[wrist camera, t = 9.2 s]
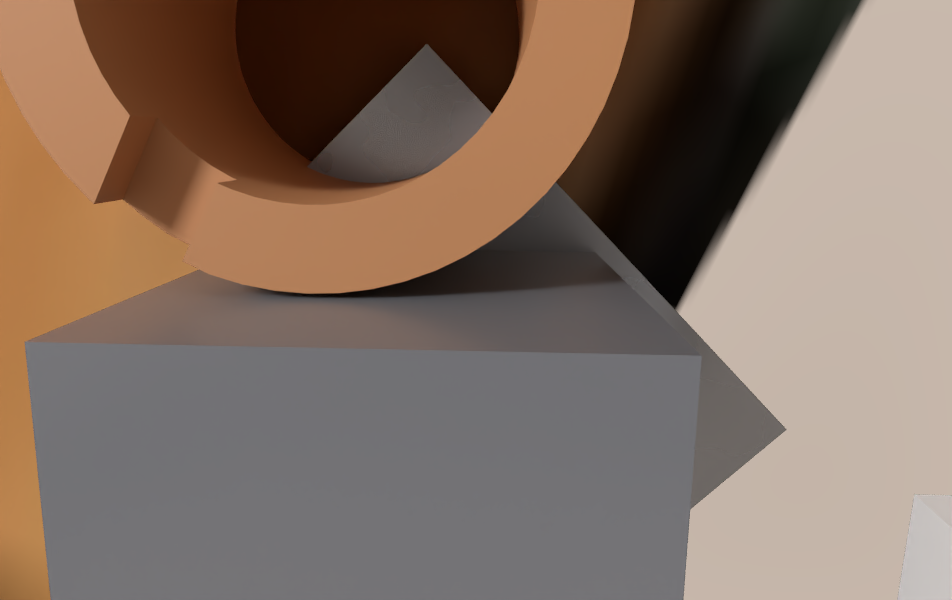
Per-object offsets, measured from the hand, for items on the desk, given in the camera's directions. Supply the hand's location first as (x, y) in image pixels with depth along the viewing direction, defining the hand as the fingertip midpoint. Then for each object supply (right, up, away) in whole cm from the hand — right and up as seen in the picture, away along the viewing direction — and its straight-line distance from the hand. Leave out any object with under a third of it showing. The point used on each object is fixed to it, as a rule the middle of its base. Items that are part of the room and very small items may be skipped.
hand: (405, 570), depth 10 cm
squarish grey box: (0, +1, +6) cm, 6 cm away
